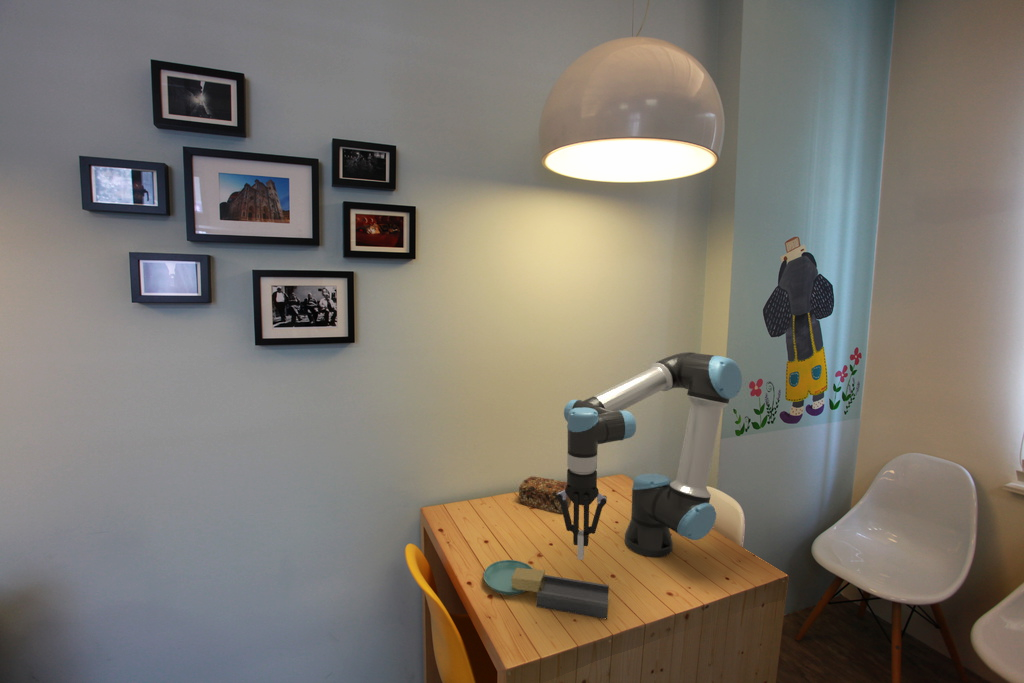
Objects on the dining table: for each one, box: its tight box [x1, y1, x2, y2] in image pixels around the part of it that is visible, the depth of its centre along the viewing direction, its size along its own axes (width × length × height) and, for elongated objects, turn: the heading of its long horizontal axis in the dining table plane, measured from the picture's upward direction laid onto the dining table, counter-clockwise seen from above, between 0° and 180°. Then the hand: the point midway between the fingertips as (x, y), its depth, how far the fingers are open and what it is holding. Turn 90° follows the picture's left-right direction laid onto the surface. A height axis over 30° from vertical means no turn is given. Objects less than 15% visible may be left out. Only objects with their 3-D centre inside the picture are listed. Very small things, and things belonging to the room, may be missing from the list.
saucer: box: [483, 559, 534, 596], centre depth 128 cm, size 15×15×3 cm
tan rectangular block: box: [511, 568, 546, 593], centre depth 123 cm, size 8×5×3 cm, turn 73°
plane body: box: [535, 574, 610, 620], centre depth 120 cm, size 18×8×4 cm, turn 77°
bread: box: [518, 475, 572, 515], centre depth 178 cm, size 19×11×10 cm, turn 61°
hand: (580, 556), depth 119 cm, fingers closed
